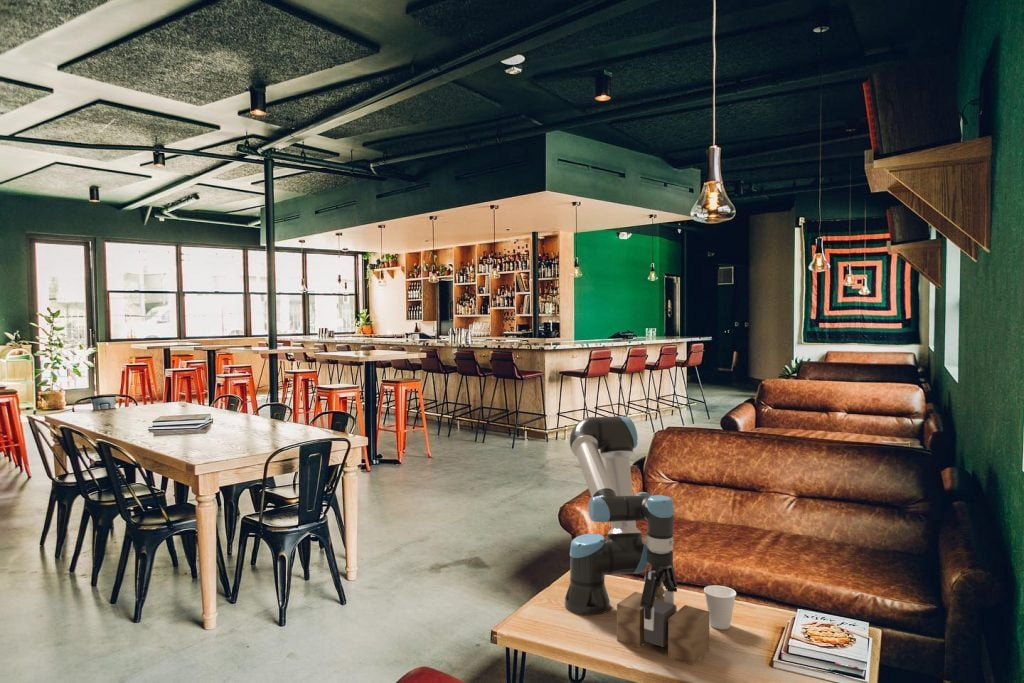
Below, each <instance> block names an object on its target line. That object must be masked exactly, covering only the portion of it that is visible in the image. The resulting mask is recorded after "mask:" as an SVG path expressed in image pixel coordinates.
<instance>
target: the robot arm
mask: <svg viewBox="0 0 1024 683" xmlns="http://www.w3.org/2000/svg"><path fill="white" fill-rule="evenodd" d="M638 439H639V438H638V431H637V427H636V425H635V423H634V422H633V421H632V419H631V418H630V417H627V416H619V415H617V416H590V417H584V418H583V419H581V420H580V421H579V422H577V423H576V424H575V425H574V427H573V428H572V430H571V432H570V436H569V446H570V449H571V452H572V453H573V455H574V456H575V457H577V460H578V462H579V465H580V466H579V467H580V469H581V472H582V474H583V477H584V480H585V483H586V486H587V489H588V491H589V494H590V496H591V497H590V498H589V500H588V506H587V508H588V514H589V515H588V516H589V519H590V520H591V521H592V522H593V523H610V529H609V530H608V532H607V534H606V535H607V539H606V538H605V536H604V535H602V534H599V533H585V534H580V535H578V536H576V537H574V538H573V539H572V540H571V542H570V547H569V548H570V549H569V557H570V558H569V564H570V565H569V572H570V574H569V578H570V579H569V585H568V587H567V590H566V594H565V598H564V607H565V608H566V609H567V610H568V611H570V612H572V613H575V614H579V615H585V616H587V615H588V616H593V615H594V616H595V615H600V614H604V613H606V612H607V611H609V609H610V602H611V601H610V598H609V595H608V591H607V588H606V584H605V579H606V578H605V576H613V575H614V576H615V575H634V574H641V573H643V572H645V575H646V579H645V580H644V583H643V590H642V599H641V604H640V606H641V607H644V628H645V629H648V630H651V631H653V630H654V607H653V604H654V601H655V597H656V594H657V590H658V587H660V586H661V583H662V582H663V584H664V587H665V588H664V595H663V596H664V602H666V603H670V604H673V605H675V602H674V599H675V598H674V595H675V593H677V592H678V588H677V587H678V582H677V581H678V580H677V576H676V573H675V569H674V550H673V549H674V545H675V541H674V514H675V507H674V500H673V499H672V498H671V496H666V495H661V494H655V495H653V494H651V493H648V492H644V491H640V492H637V493H636V494H634V493H633V483H632V480H633V479H632V473H631V472H632V471H631V460H630V458H631V456H632V455H633V454H634V449H636V448H637V446H638ZM599 451H600V452H599ZM602 458H603V459H604V461H605V464H604V461H603V459H602ZM637 521H644V522H645V523H647V524H646V527H647V529H646V531H647V532H646V536H647V546H646V545H644V544H643V543H642V541H641V539H642V538H643V537H644V536H642V531H641V530H639V528H637ZM648 564H650V567H651V566H652V567H651V572H649V571H648V570H646V569H647V567H648ZM645 570H646V571H645ZM665 589H666V590H665Z"/></svg>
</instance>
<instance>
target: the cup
mask: <svg viewBox="0 0 1024 683" xmlns="http://www.w3.org/2000/svg"><path fill="white" fill-rule="evenodd" d="M703 592H704V597H705V601H706V607H707V608H706V610H707V611H709V626H711V627H712V628H714V629H716V630H727V629H729V628H730V627H731V622H732V616H733V611H734V606H735V599H736V596H737V592H736V591H735V589H733V588H730V587H728V586H724V585H717V584H716V585H707V586H705V587H704V588H703Z"/></svg>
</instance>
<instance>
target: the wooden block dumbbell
mask: <svg viewBox="0 0 1024 683" xmlns="http://www.w3.org/2000/svg"><path fill="white" fill-rule="evenodd" d="M642 594H643V592H642V593H641V592H638V591H634V592H633V593H631V594H629V595H628V596H627V597H625V598H624V599H622V600H621V601H619V602H618V603H617V604H616V641H618V642H622V643H624V644H627V645H630V646H634V647H636V648H639V649H640V648H641V647H642V646H643V645H644V644H646V643H647V642H646V641H644V607H641V606H640V604H641V599H642ZM656 600H657V597H655V601H656ZM667 622H668V638H667V644H668V645H667V648H668V649H667V651H668V652H667V657H668V658H670V659H674V660H677V661H680V662H682V663H685V664H688V665H691V666H694V665H695V664H696V663H697V662H698V661H699V660H700V659H701V658H702V657H703V656H704V655H705V654H706V653H707V652H708V651H709V650H710V622H709V611H708V610H707V609H701V608H698V607H694V606H691V605H690V606H689V605H686V604H685V605H683V606H682V607H681V608H679V609H678V610H677V611H676V612H675V614H673V615H672V616H671V617H670V618H668V619H667Z"/></svg>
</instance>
